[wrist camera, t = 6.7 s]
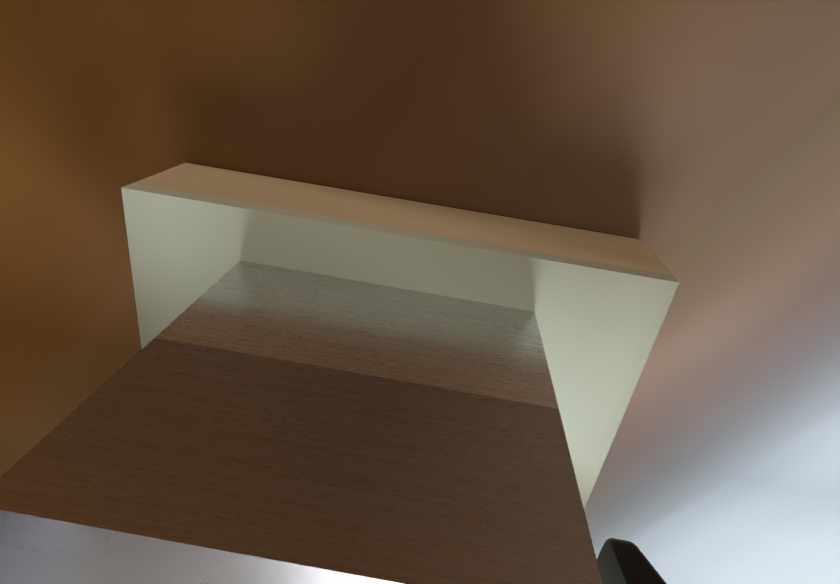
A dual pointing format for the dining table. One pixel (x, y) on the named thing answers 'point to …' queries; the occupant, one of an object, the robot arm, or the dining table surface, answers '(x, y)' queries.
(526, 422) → the block
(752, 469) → the dining table surface
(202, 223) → the stand
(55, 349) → the dining table surface
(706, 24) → the dining table surface
